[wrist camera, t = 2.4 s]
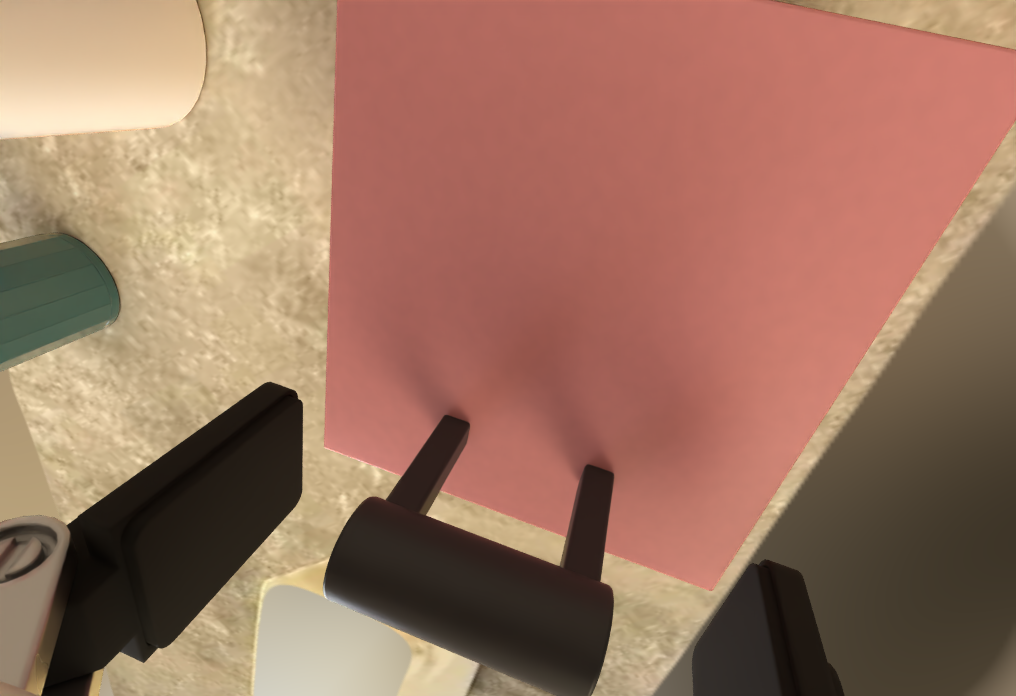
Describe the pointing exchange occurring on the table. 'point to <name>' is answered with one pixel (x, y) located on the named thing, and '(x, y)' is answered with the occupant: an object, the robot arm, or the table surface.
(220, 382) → the table surface
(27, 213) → the table surface
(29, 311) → the cup
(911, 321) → the table surface
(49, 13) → the pill bottle
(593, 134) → the lid
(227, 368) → the table surface
